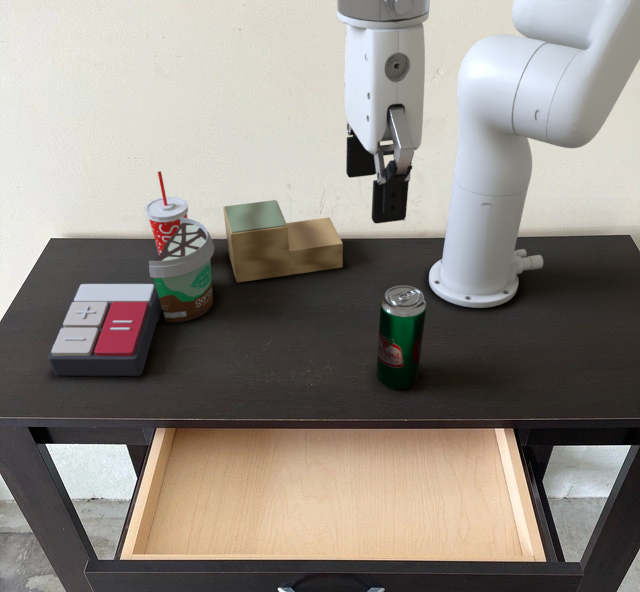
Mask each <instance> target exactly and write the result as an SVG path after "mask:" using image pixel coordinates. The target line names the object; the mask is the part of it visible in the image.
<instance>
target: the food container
mask: <svg viewBox="0 0 640 592" xmlns="http://www.w3.org/2000/svg"><path fill="white" fill-rule="evenodd" d="M180 224H181V225H180V226H179V228H178V230H177V231H176V232H175V234H174V235H173V236H172V237H171V238H170V239H169V240H168V241H167V242H166V244H165V246H164V248H163V250H162V252H161V254H160V255H159V254H158V257H157V258H156V260H148V265H149V266H148V271H149V278H152V279H153V282H154V284H155V286H156V289H157V293H158V296H159V299H160V303H161V306H162V313H163V316H164V319H165V322H166V323H179V322H187V321H190V320H193V319H194V320H195V319H196V318H199V317H200V316H203V315H204V314H206V313H207V312H208V311H209V310H210V309H211V307H212V305H213V303H214V295H213V293H214V292H213V280H212V278H213V277H212V265H211V258H212V257H213V255H214V253H215V245H214V242H213V240H212V237H211V235H210V232H209V231H208V229H207V227H205V225H204V224H202V223H201V222H200V221H197V220H195V219H192V218H189V217H188V218H183V217H180Z"/></svg>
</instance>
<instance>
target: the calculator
mask: <svg viewBox="0 0 640 592" xmlns="http://www.w3.org/2000/svg"><path fill="white" fill-rule="evenodd" d="M73 295H74V296H73V298H72V300H71V302H70V305H69V307H68V309H67V312H66V314H65V317H64V319H63V321H62V323H61V325H60V328H59V331H58V332H57V335H56V338H55V339H54V342H53V345H52V347H51V349H50V352H49V354H48V356H47V359H48V362H49V363H50V366H51V368H52V371H53V373H54V375H55V376H60V377H61V376H62V377H63V376H65V377H66V376H67V377H68V376H72V377H74V376H76V377H77V376H78V377H79V376H81V377H82V376H91V377H93V376H94V377H100V376H101V377H103V376H104V377H107V376H108V377H112V376H114V377H137V376H138V377H140V376H141V375H142V374H143V371H144V369H145V364H146V362H147V357H148V354H149V350H150V346H151V344H152V339H153V336H154V333H155V330H156V326H157V323H158V322H160V318H161V315H162V312H163V310H162V306H161V303H160V299H159V296H158V293H157V289H156V286H155V283H81V284H79V285H78V286H77V288H76V291H75V293H74V294H73Z"/></svg>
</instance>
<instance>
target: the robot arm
mask: <svg viewBox="0 0 640 592" xmlns="http://www.w3.org/2000/svg"><path fill="white" fill-rule="evenodd" d="M430 4H431V0H336V18H337V19H338V21H339V22H341V23H342V24H346V29H345V47H344V71H343V72H344V73H343V74H344V75H343V77H344V78H343V82H344V84H343V87H344V88H343V98H344V99H343V100H344V113H345V117H346V121H347V122H346V133H347V137H346V157H345V159H346V163H345V164H346V168H345V169H346V170H345V173H346V175H347V177H348V178H361V177H368V176H376V179H373V181H372V199H371V200H372V202H371V220H372V222H373V223H374V224H385V223H391V222H400V221H404V220H406V218H407V210H408V209H407V208H408V206H407V205H408V195H409V183H410V181H411V171H412V170H413V165H412V164H413V162H412V161H413V158H414V155H415V151H417V150H418V149H419V148H420V146H421V145H422V137H423V124H424V123H423V120H424V103H425V101H424V100H425V78H426V76H425V75H426V61H425V60H426V49H425V48H426V47H425V46H426V45H425V30H424V29H425V28H424V24H423V23H425V22H426V21H427V20H428V19H429V17H430ZM511 21H512V24H513V26H514V28H515V30H516V31H517V32H518V33H519V34H520V35H522V36H520V35H515V34H493V35H492V34H491V35H489V36H486V37H484V38H482V39H479V40H478V41H476V42H475V43H474V44H473V45H471V47H470V48H469V49H468V51H467V52H466V53H465V55H464V57H463V58H462V59H463V60H462V61H461V63H460V67H459V70H458V74H457V81H456V106H457V145H456V154H455V163H454V170H453V175H452V176H453V177H452V184H451V191H450V199H449V206H448V212H447V219H446V220H447V221H446V228H445V236H444V243H443V249H442V250H443V251H442V258H441V259H439V260H438V261H436V262H435V263H434V264H433V265H432V266H431V268H430V270H429V274H428V282H429V286H430V288H431V290H432V291H433V292H434V293H435V295H437V296H438V297H439V298H441V299H443V300H445V301H446V302H448V303H451V304H453V305H456V306H459V307H460V306H461V307H464V308H472V309H484V308H485V309H486V308H492V307H493V308H494V307H496V306H500V305H503V304H505V303H507V302H508V301H510V300H511V299H513V297H515V295H516V294H517V292H518V287H519V277H518V275H521V274H522V273H523V271H533V270H539V269H542V268H543V266H544V258H543V256H542V255H541V254H535V255H529V256H527V250H526V249H525V248H521V249H516V245H517V240H518V235H519V232H520V226H521V222H522V217H523V212H524V209H525V203H526V199H527V195H528V191H529V186H530V184H531V183H530V182H531V178H532V172H533V155H532V150H531V145H530V142H529V139H531V140H535V141H538V142H541V143H545V144H548V145H553V146H555V147H560V148H564V149H579V148H582V147H584V146H586V145H588V144H589V143H590V142H591V141H592V140H594V138H595V137H596V136H597V135H598V134H599V132H600V131H601V129H602V127H603V126H604V124H605V123H606V121H607V119H608V117H609V116H610V114H611V113H612V110H613V109H614V107H615V105H616V103H617V101H618V100H619V97H620V96H621V94H622V92H623V90H624V88H625V87H626V85H627V83H628V81H629V80H630V78H631V76H632V74H633V72H634V71H635V69H636V67H637V65H638V64H639V62H640V0H513V2H512V7H511ZM390 141H392V143H389V144H381V143H382V142H390ZM391 155H392V156H393V157H392V158H393V159H391V160H389V161H388V163H387V165H385V156H391Z"/></svg>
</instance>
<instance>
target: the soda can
mask: <svg viewBox="0 0 640 592" xmlns="http://www.w3.org/2000/svg"><path fill="white" fill-rule="evenodd" d="M426 313H427V303H426V301H425V296H424V293H423V292H422V291H421V290H420V289H419V288H417V287H415V286H411V285H403V284H402V285H401V284H400V285H395V286H392V287H390V288H388V289H387V290H386V291H385V293H384V296H383V298H382V299H381V301H380V310H379V323H378V324H379V325H378V339H377V340H378V342H377V355H376V356H377V359H376V378H377V380H378V381H379V382H380V383H381V384H382V385H383V386H384V387H386V388H389V389H392V390H405V389H408V388H410V387H411V386H413V385H414V384H415V383H416V382H417V380H418V378H419V369H420V363H421V362H420V361H421V354H422V353H421V352H422V347H423V346H422V345H423V337H424V328H425V321H426V315H427V314H426Z"/></svg>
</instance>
